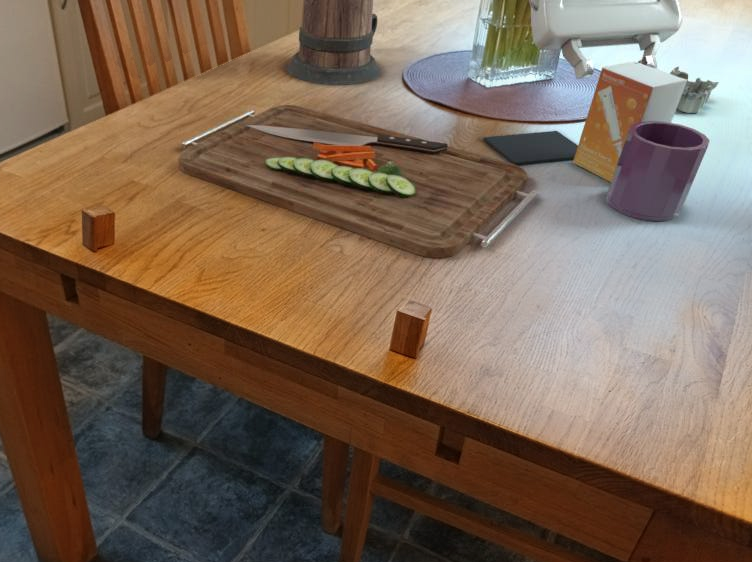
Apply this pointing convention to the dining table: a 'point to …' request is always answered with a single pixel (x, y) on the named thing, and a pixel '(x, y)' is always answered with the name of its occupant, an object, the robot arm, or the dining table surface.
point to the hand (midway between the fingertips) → (617, 74)
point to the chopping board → (360, 177)
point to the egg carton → (693, 92)
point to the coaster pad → (534, 147)
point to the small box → (624, 112)
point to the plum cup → (656, 170)
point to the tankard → (336, 42)
